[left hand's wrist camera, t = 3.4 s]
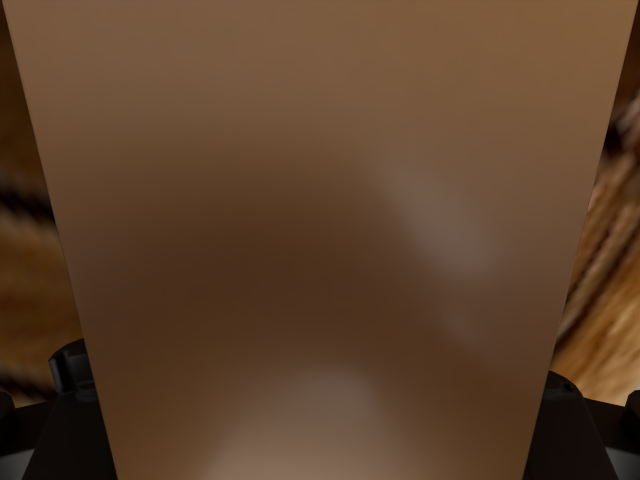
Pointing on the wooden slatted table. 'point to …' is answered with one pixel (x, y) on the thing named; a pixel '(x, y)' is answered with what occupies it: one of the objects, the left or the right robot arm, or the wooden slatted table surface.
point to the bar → (320, 222)
